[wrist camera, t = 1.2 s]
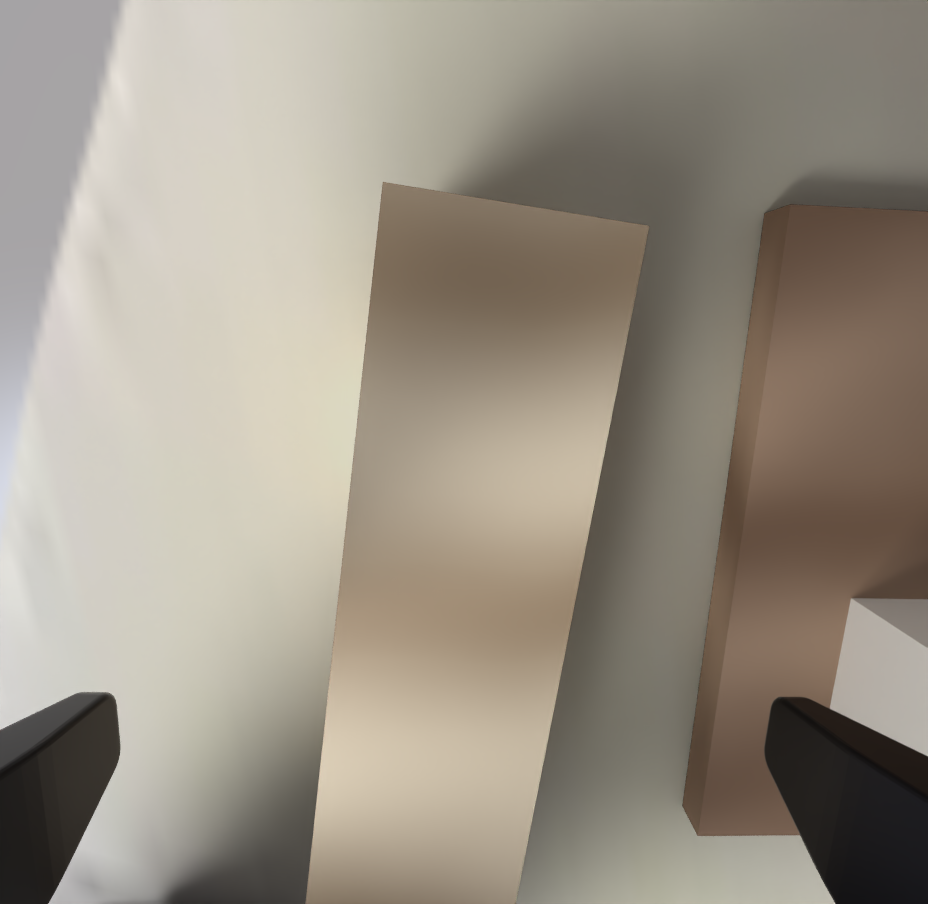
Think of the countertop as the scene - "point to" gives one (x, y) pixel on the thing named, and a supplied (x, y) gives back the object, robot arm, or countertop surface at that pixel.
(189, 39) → the countertop surface
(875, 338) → the walnut board
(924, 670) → the plain white cube
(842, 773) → the robot arm
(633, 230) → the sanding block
